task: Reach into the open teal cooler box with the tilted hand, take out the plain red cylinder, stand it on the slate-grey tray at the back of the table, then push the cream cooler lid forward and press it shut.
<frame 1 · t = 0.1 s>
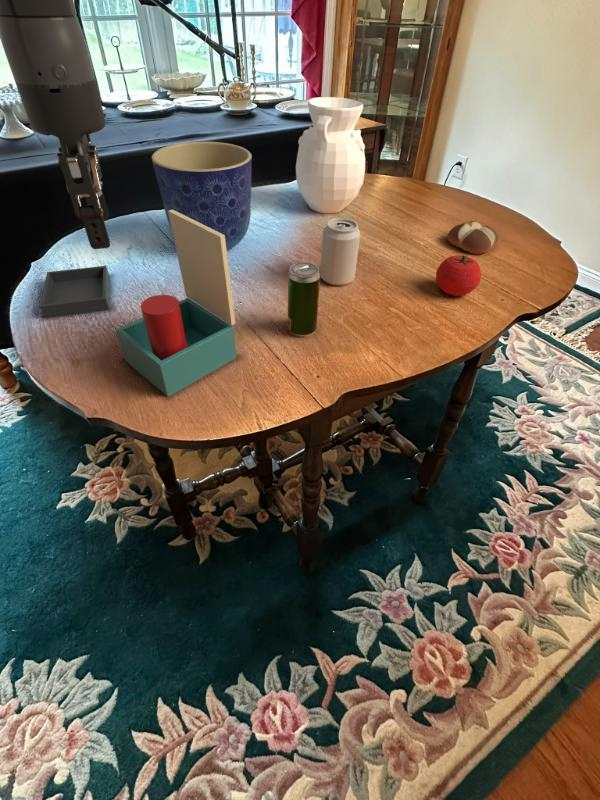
hand: (101, 233, 55), 22 cm above the table, tool pointing down, fingers open, 8 cm apart
bread: (471, 245, 108), on the table
tray: (79, 296, 85), on the table
can: (336, 279, 93), on the table
planter: (212, 243, 104), on the table
cooler: (181, 359, 72), on the table
plain red cylinder: (174, 369, 69), point 1 cm above the table, touching cooler
beer can: (301, 330, 79), on the table
cooler lid: (203, 269, 66), point 14 cm above the table, hinge at 88.0°
pitcher: (327, 208, 122), on the table
tomato: (452, 292, 91), on the table
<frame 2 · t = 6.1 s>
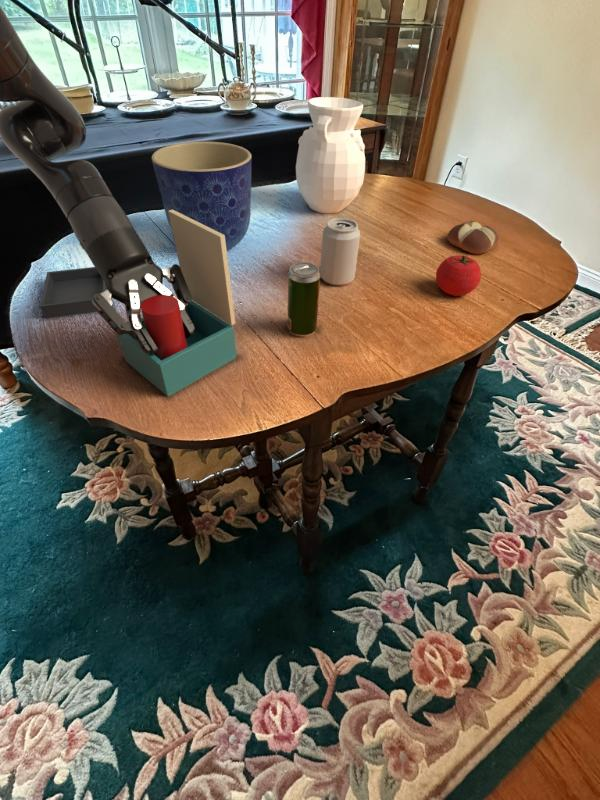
hand: (173, 343, 64), 7 cm above the table, tool tilted 45°, fingers open, 5 cm apart
plain red cylinder: (174, 369, 69), point 1 cm above the table, touching cooler, gripper
everything else where it was.
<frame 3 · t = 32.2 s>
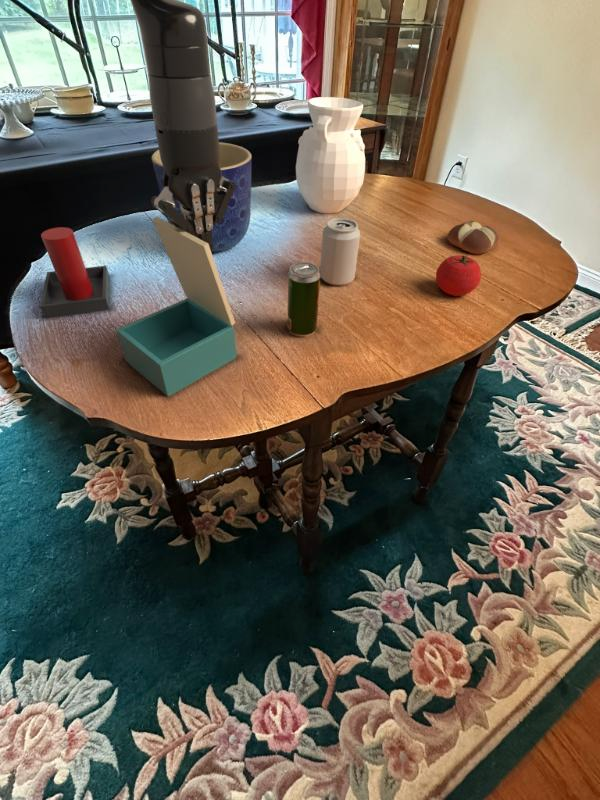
hand: (203, 254, 65), 16 cm above the table, tool pointing down, fingers closed
plain red cylinder: (79, 293, 85), point 1 cm above the table, touching tray
cooler lid: (195, 273, 65), point 14 cm above the table, hinge at 76.7°
everything else where it was.
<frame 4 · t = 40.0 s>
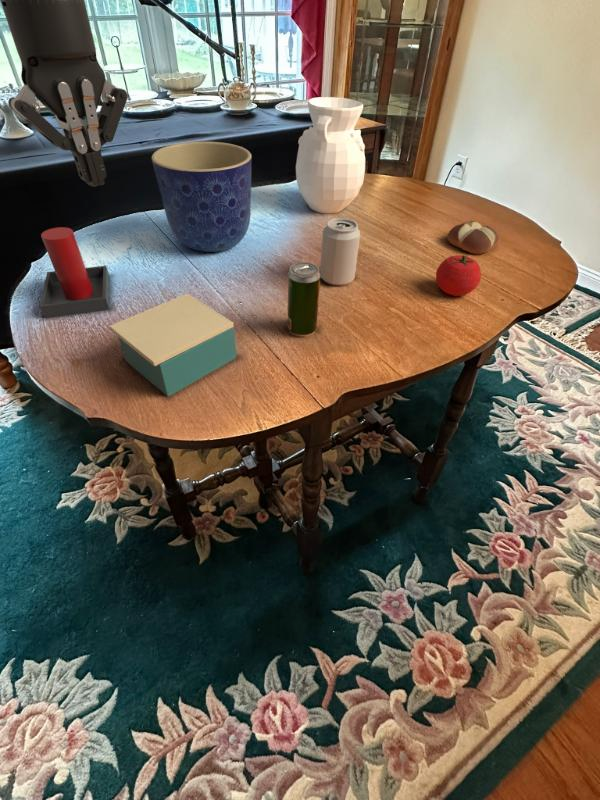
hand: (95, 183, 54), 27 cm above the table, tool pointing down, fingers closed
cooler lid: (172, 326, 67), point 7 cm above the table, hinge at 0.8°
everything else where it was.
at the end: plain red cylinder inside the target area in the tray (0.1 cm from its centre), point 0.6 cm above the tray's base; plain red cylinder tilted 0°; cooler lid at +1° (first picture: +88°) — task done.
